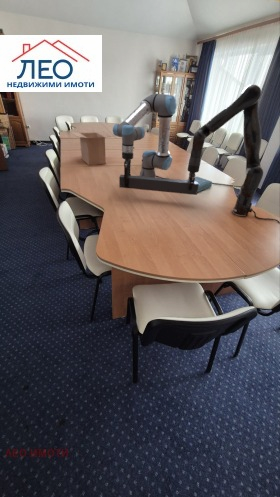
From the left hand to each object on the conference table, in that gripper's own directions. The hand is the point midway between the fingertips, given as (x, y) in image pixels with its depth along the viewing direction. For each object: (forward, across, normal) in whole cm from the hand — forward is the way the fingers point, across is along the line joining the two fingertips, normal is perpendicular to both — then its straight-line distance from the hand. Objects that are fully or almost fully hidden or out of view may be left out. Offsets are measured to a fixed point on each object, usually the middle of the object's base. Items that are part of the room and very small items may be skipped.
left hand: (127, 186), depth 159 cm
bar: (+1, 0, -22) cm, 22 cm away
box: (+10, +86, +50) cm, 100 cm away
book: (+10, +38, -55) cm, 67 cm away
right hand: (-2, 0, -44) cm, 45 cm away
